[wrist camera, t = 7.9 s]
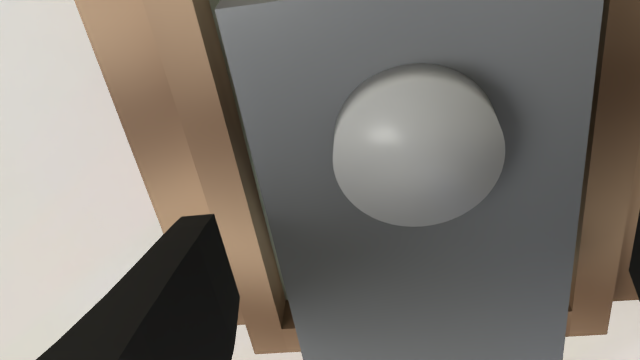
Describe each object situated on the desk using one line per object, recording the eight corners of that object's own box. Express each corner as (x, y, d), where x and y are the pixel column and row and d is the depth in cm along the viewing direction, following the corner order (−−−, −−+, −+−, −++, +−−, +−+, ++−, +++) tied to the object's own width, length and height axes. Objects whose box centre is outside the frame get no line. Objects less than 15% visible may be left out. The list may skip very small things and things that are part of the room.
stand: (639, 251, 19) (683, 329, 16) (212, 282, 21) (190, 357, 18) (748, -314, 11) (869, -341, 8) (51, -185, 13) (-28, -173, 10)
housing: (507, 245, 16) (565, 432, 12) (327, 259, 17) (316, 441, 12) (519, -110, 11) (627, -31, 7) (264, -73, 12) (205, 24, 7)
